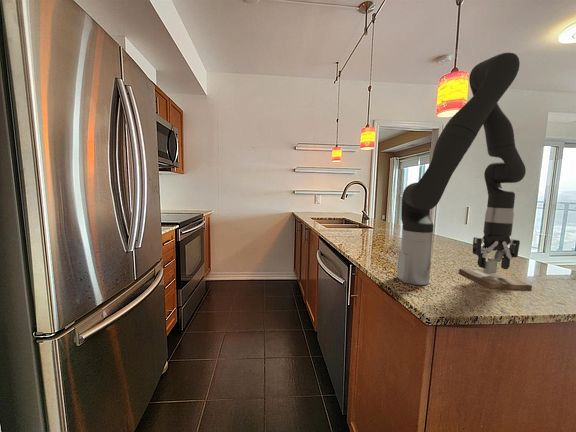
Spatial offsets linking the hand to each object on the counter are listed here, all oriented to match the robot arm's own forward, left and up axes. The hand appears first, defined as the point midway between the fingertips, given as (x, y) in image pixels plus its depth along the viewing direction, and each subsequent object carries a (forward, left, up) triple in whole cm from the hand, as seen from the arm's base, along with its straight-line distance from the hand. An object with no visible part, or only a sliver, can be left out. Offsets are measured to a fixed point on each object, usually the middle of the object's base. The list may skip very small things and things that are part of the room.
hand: (493, 268), depth 90 cm
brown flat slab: (0, 0, -4) cm, 4 cm away
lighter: (0, 0, -2) cm, 2 cm away
